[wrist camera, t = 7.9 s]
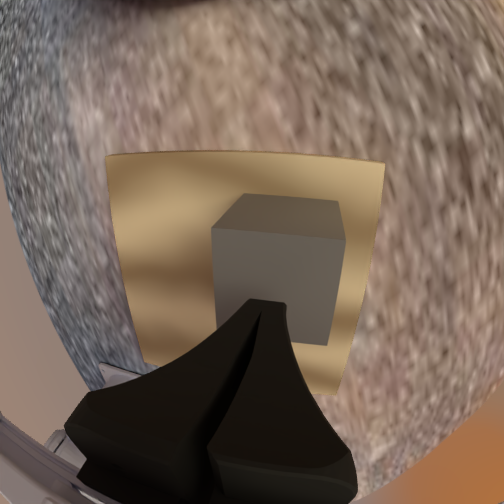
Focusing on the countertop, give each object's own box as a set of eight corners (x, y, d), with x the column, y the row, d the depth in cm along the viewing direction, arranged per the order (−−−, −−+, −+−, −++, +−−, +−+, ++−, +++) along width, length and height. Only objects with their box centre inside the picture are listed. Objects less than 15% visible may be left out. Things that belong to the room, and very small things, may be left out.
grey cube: (327, 284, 18) (327, 345, 13) (243, 274, 19) (216, 331, 14) (338, 201, 16) (346, 240, 11) (244, 193, 17) (211, 227, 12)
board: (336, 388, 23) (336, 395, 22) (148, 356, 26) (144, 361, 25) (382, 161, 15) (384, 163, 14) (112, 154, 18) (105, 156, 18)
